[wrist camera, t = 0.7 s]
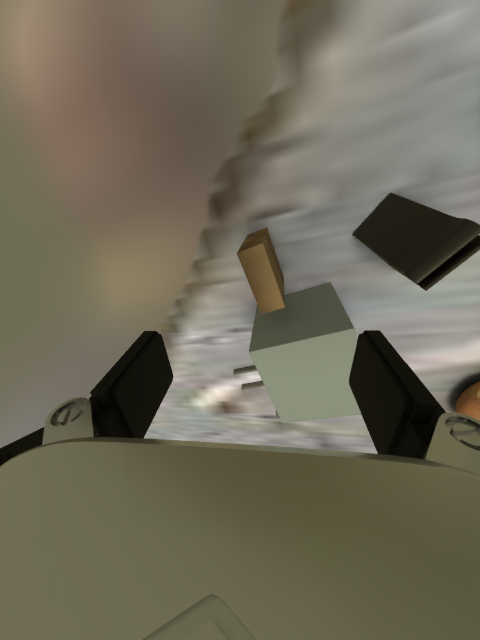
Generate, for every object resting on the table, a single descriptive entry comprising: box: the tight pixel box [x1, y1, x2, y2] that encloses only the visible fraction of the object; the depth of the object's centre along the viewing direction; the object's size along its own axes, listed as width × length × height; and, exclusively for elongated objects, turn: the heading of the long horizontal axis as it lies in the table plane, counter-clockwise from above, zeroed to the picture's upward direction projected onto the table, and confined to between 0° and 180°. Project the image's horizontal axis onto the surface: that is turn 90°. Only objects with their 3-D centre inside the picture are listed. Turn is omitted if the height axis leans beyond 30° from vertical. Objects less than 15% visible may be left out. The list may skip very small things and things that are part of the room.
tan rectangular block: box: [237, 228, 285, 314], centre depth 30 cm, size 4×8×10 cm, turn 22°
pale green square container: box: [233, 283, 361, 423], centre depth 36 cm, size 22×18×13 cm
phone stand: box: [353, 193, 480, 291], centre depth 25 cm, size 9×6×12 cm, turn 56°
